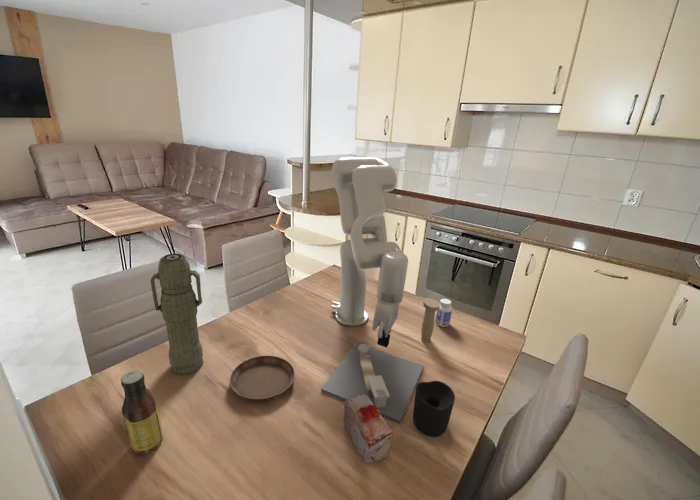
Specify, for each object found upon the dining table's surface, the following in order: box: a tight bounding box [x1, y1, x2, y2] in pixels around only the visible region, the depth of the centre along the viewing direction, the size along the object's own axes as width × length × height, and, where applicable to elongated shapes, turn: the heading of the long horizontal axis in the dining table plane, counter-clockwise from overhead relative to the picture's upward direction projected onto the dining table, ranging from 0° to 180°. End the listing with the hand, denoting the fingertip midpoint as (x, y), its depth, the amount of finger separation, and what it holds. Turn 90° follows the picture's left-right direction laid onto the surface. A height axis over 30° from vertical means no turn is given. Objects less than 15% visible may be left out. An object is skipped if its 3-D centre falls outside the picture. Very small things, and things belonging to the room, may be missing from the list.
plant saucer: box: [229, 355, 296, 403], centre depth 97 cm, size 18×18×3 cm
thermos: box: [150, 253, 204, 376], centre depth 96 cm, size 9×12×35 cm
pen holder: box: [412, 380, 456, 438], centre depth 86 cm, size 9×9×10 cm
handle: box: [420, 297, 440, 343], centre depth 119 cm, size 5×6×15 cm
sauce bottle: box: [120, 369, 164, 456], centre depth 74 cm, size 6×6×20 cm
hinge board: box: [320, 342, 425, 425], centre depth 101 cm, size 23×24×5 cm
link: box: [359, 355, 375, 395], centre depth 100 cm, size 15×3×2 cm, turn 8°
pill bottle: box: [434, 298, 453, 328], centre depth 130 cm, size 5×5×10 cm
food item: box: [342, 394, 394, 464], centre depth 80 cm, size 14×8×10 cm, turn 28°
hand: (383, 344), depth 106 cm, fingers closed
